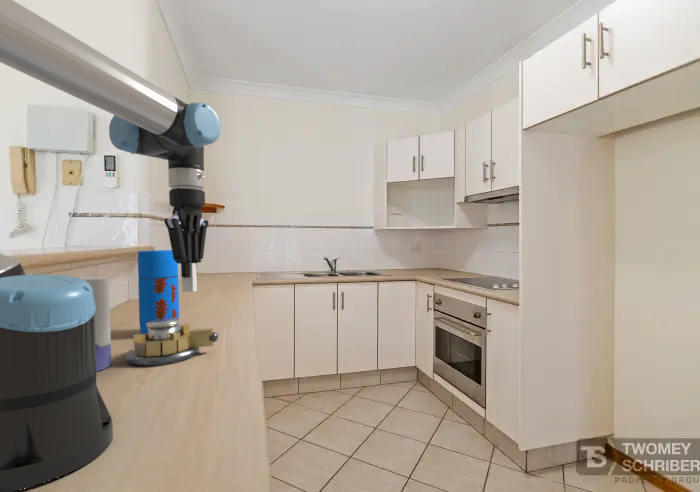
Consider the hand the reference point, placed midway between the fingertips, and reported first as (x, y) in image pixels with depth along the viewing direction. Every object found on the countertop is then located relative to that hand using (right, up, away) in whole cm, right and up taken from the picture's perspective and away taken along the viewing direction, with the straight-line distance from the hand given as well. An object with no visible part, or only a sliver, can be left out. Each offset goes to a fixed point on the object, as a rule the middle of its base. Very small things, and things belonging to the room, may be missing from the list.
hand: (189, 291), depth 84 cm
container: (-21, -17, -4) cm, 28 cm away
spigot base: (-8, -16, +5) cm, 19 cm away
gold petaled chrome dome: (-5, -14, +5) cm, 16 cm away
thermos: (-21, -16, +27) cm, 38 cm away
